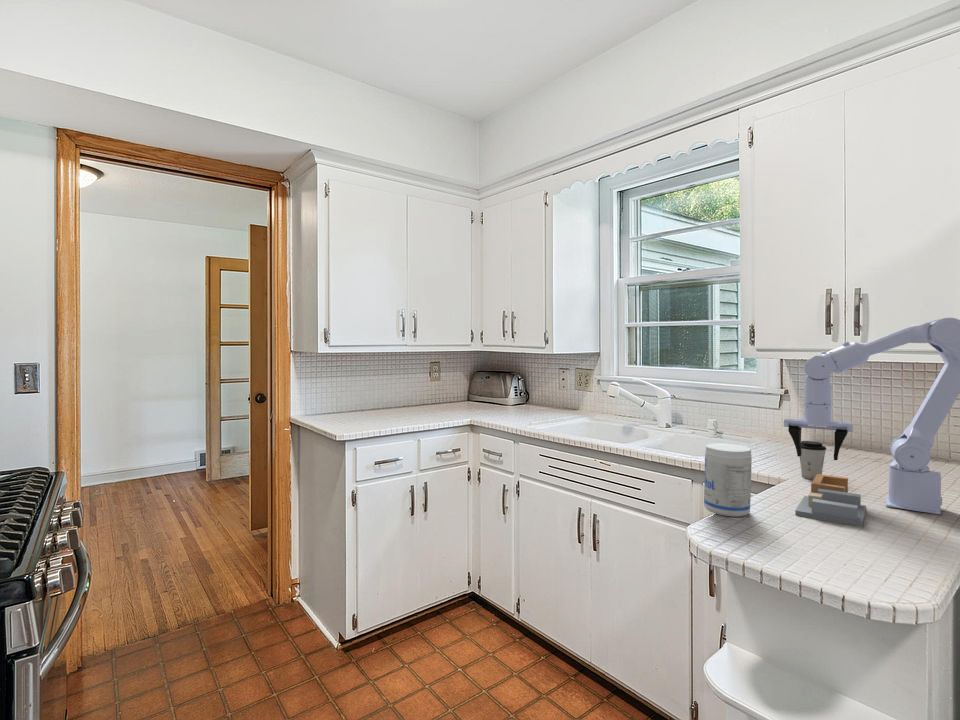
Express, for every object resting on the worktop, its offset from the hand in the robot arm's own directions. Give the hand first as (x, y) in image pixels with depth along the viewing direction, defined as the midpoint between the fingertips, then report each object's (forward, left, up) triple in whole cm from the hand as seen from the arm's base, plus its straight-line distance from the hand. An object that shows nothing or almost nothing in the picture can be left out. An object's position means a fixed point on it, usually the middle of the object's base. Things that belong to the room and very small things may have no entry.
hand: (817, 457), depth 130 cm
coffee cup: (+3, -19, -10) cm, 21 cm away
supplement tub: (+14, +28, -10) cm, 33 cm away
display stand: (-4, +15, -9) cm, 18 cm away
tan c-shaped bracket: (-3, 0, -9) cm, 10 cm away
